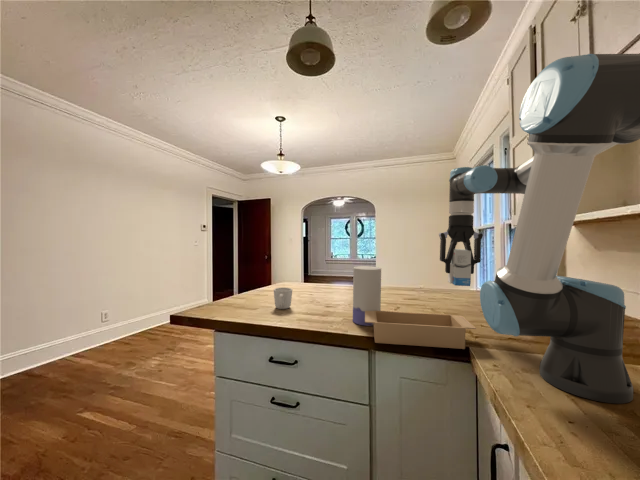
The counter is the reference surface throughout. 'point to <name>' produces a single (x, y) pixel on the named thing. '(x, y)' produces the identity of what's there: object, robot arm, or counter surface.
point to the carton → (419, 328)
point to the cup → (282, 297)
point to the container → (366, 292)
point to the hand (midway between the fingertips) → (459, 282)
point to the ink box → (461, 267)
